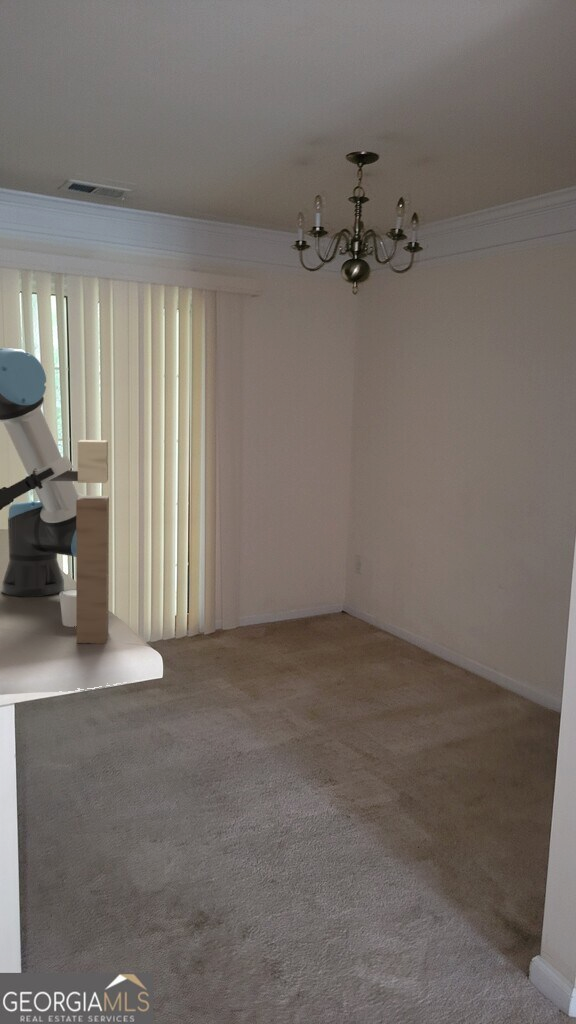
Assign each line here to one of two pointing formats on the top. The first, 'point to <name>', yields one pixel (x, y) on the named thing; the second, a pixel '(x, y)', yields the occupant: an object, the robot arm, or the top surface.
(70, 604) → the white cup
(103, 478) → the beige wooden block
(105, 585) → the brown wooden tall block
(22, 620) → the top surface
